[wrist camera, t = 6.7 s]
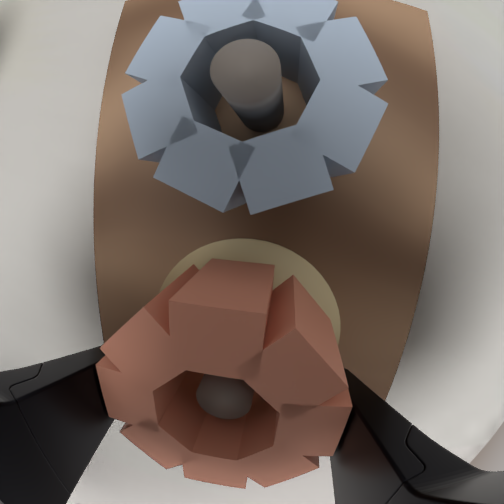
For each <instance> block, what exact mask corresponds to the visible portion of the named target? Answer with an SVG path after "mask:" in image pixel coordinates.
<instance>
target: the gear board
mask: <svg viewBox="0 0 504 504" xmlns="http://www.w3.org/2000/svg"><path fill="white" fill-rule="evenodd" d="M178 1H181V0H128V1H125V4H124V7H123V10H122V13H121V17H120V20H119V24H118V27H117V31H116V35H115V39H114V43H113V47H112V51H111V56H110V60H109V65H108V70H107V75H106V80H105V86H104V92H103V98H102V104H101V111H100V119H99V127H98V137H97V147H96V160H95V177H94V252H95V270H96V282H97V293H98V303H99V311H100V319H101V326H102V333H103V340H104V343H105V342H106V341H107V340H108V339H109V338H111V337H112V336H113V335H114V334H115V333H116V332H117V331H118V330H119V329H120V328H121V327H122V326H123V325H124V324H125V323H127V322H128V321H129V320H130V319H131V318H132V317H133V316H134V315H135V314H136V313H137V312H138V311H140V310H141V309H142V308H143V307H144V306H145V305H146V304H147V303H149V302H150V301H151V300H152V299H153V298H154V297H155V296H157V295H158V294H159V293H160V292H161V291H162V290H164V289H165V288H166V287H167V286H168V285H169V284H171V283H172V282H173V281H174V280H175V279H176V278H178V277H179V276H180V275H181V274H182V273H184V272H185V271H186V270H187V269H188V268H189V267H191V266H192V265H193V264H194V265H195V266H196V267H197V268H198V269H199V270H200V269H201V268H202V267H203V266H204V265H206V264H207V263H208V262H209V261H210V260H211V259H212V258H214V259H223V260H233V261H242V262H252V263H262V264H271V265H275V269H274V279H273V289H272V290H274V289H275V288H276V287H278V286H279V285H280V284H282V283H283V282H284V281H285V280H287V279H288V278H289V277H291V276H292V275H294V276H295V277H296V278H297V280H298V281H299V282H300V283H301V284H302V286H303V287H304V288H305V289H306V290H307V292H308V293H309V294H310V295H311V296H312V298H313V299H314V300H315V301H316V302H317V304H318V305H319V306H320V307H321V309H322V310H323V311H324V312H325V313H326V315H327V316H328V317H329V318H330V320H331V323H332V327H333V330H334V334H335V337H336V341H337V345H338V348H339V352H340V356H341V359H342V363H343V367H344V368H346V369H348V370H349V371H350V372H351V373H353V374H354V375H355V376H356V377H357V378H358V379H360V380H361V381H362V382H363V383H364V384H365V385H367V386H368V387H369V388H370V389H371V390H372V391H374V392H375V393H376V394H377V395H378V396H379V397H381V398H382V399H383V400H384V401H385V400H386V397H387V395H388V392H389V390H390V387H391V384H392V382H393V379H394V376H395V374H396V371H397V368H398V365H399V362H400V359H401V356H402V353H403V350H404V347H405V344H406V341H407V338H408V334H409V331H410V327H411V324H412V320H413V317H414V313H415V309H416V305H417V301H418V297H419V293H420V289H421V285H422V280H423V275H424V271H425V266H426V260H427V255H428V249H429V243H430V237H431V231H432V224H433V216H434V208H435V198H436V187H437V174H438V154H439V106H438V87H437V75H436V64H435V56H434V48H433V41H432V35H431V29H430V23H429V18H428V13H427V11H425V10H422V9H419V8H416V7H413V6H410V5H407V4H403V3H400V2H396V1H393V0H336V1H338V5H337V9H336V13H335V17H334V20H335V19H342V18H349V17H357V19H358V20H359V22H360V24H361V26H362V28H363V30H364V31H365V33H366V35H367V37H368V39H369V41H370V43H371V45H372V47H373V49H374V51H375V53H376V55H377V57H378V59H379V61H380V63H381V65H382V68H383V70H384V72H385V74H386V77H387V79H388V81H387V82H386V83H385V84H384V85H383V86H382V87H381V88H380V89H379V90H378V91H377V92H376V93H375V94H374V95H375V96H377V97H379V98H380V99H382V100H383V101H385V102H387V103H388V105H387V108H386V110H385V112H384V114H383V116H382V118H381V120H380V123H379V125H378V127H377V129H376V131H375V133H374V135H373V137H372V139H371V141H370V143H369V145H368V147H367V149H366V151H365V153H364V155H363V157H362V159H361V161H360V163H359V165H358V167H357V169H356V171H355V173H351V174H346V175H341V176H336V177H330V179H331V182H332V186H333V189H334V190H332V191H328V192H325V193H321V194H318V195H315V196H311V197H308V198H304V199H301V200H298V201H294V202H291V203H288V204H285V205H281V206H278V207H275V208H272V209H268V210H265V211H262V212H259V213H256V214H252V215H250V212H249V209H248V205H247V202H246V203H245V204H243V205H241V206H238V207H236V208H233V209H231V210H229V211H226V212H224V213H223V212H221V211H219V210H217V209H215V208H213V207H211V206H209V205H207V204H205V203H203V202H201V201H199V200H197V199H195V198H193V197H191V196H189V195H187V194H185V193H183V192H181V191H179V190H177V189H175V188H173V187H171V186H169V185H167V184H165V183H163V182H161V181H159V180H157V179H155V178H153V176H154V174H155V172H156V170H157V167H158V165H159V162H153V161H145V160H138V156H137V153H136V149H135V146H134V142H133V138H132V135H131V131H130V127H129V123H128V119H127V115H126V111H125V107H124V103H123V99H122V95H121V94H123V93H125V92H127V91H129V90H130V89H132V88H134V87H136V86H138V85H140V84H142V83H140V82H139V81H137V80H135V79H134V78H132V77H130V76H129V75H127V74H125V72H126V71H127V69H128V67H129V65H130V63H131V62H132V60H133V58H134V56H135V55H136V53H137V51H138V50H139V48H140V46H141V45H142V43H143V41H144V40H145V38H146V37H147V35H148V33H149V32H150V30H151V29H152V27H153V26H154V24H155V23H156V21H157V20H158V18H159V17H160V16H166V17H171V18H176V19H181V20H184V17H183V14H182V11H181V8H180V5H179V3H178ZM210 76H211V79H212V82H213V83H214V85H215V86H216V88H217V89H218V90H219V92H220V93H221V94H222V98H221V99H220V101H219V103H218V105H217V107H216V109H215V112H216V115H217V118H218V121H219V124H220V127H221V130H222V133H224V134H226V135H228V136H231V137H233V138H235V139H237V140H239V141H242V142H243V141H246V140H249V139H252V138H255V137H258V136H261V135H264V134H267V133H270V132H274V131H277V130H280V129H283V128H287V127H290V126H294V125H297V123H298V121H299V119H300V117H301V115H302V113H303V111H304V109H305V108H306V103H305V101H304V98H303V96H302V93H301V91H300V88H299V86H298V83H296V82H294V81H291V80H289V79H287V78H285V77H282V76H281V64H280V59H279V57H278V55H277V53H276V52H275V50H274V49H273V48H272V47H271V46H269V45H268V44H266V43H264V42H262V41H259V40H255V39H240V40H236V41H233V42H230V43H228V44H226V45H225V46H223V47H222V48H221V49H220V50H219V51H218V52H217V53H216V54H215V56H214V57H213V59H212V62H211V66H210ZM253 394H254V389H252V388H251V387H250V386H249V385H248V384H247V383H246V382H245V381H244V380H242V379H235V378H228V377H222V376H215V375H209V374H204V376H203V378H202V380H201V382H200V384H199V387H198V389H197V392H196V398H197V401H198V403H199V405H200V406H201V407H202V409H203V410H205V411H206V412H207V413H209V414H210V415H212V416H215V417H218V418H221V419H237V418H240V417H242V416H244V415H245V414H247V413H248V412H249V410H250V408H251V405H252V400H253Z"/></svg>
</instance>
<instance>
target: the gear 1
mask: <svg viewBox="0 0 504 504" xmlns="http://www.w3.org/2000/svg"><path fill="white" fill-rule="evenodd" d="M178 3H179V5H180V8H181V11H182V14H183V17H184V20H181V19H176V18H171V17H166V16H160V17H159V18H158V20H157V21H156V23H155V24H154V26H153V27H152V29H151V30H150V32H149V33H148V35H147V37H146V38H145V40H144V41H143V43H142V45H141V46H140V48H139V50H138V51H137V53H136V55H135V56H134V58H133V60H132V62H131V63H130V65H129V67H128V69H127V71H126V72H125V74H127V75H129V76H130V77H132V78H134V79H135V80H137V81H139V82H140V83H142V84H140V85H138V86H136V87H134V88H132V89H130V90H129V91H127V92H125V93H123V94H121V95H122V99H123V103H124V107H125V111H126V115H127V119H128V123H129V127H130V131H131V135H132V138H133V142H134V146H135V149H136V153H137V156H138V160H145V161H153V162H159V165H158V167H157V170H156V172H155V174H154V176H153V178H155V179H157V180H159V181H161V182H163V183H165V184H167V185H169V186H171V187H173V188H175V189H177V190H179V191H181V192H183V193H185V194H187V195H189V196H191V197H193V198H195V199H197V200H199V201H201V202H203V203H205V204H207V205H209V206H211V207H213V208H215V209H217V210H219V211H221V212H223V213H224V212H226V211H229V210H231V209H233V208H236V207H238V206H241V205H243V204H245V203H246V202H247V205H248V209H249V212H250V215H252V214H256V213H259V212H262V211H265V210H268V209H272V208H275V207H278V206H281V205H285V204H288V203H291V202H294V201H298V200H301V199H304V198H308V197H311V196H315V195H318V194H321V193H325V192H328V191H332V190H334V189H333V186H332V182H331V179H330V177H336V176H341V175H346V174H351V173H355V171H356V169H357V167H358V165H359V163H360V161H361V159H362V157H363V155H364V153H365V151H366V149H367V147H368V145H369V143H370V141H371V139H372V137H373V135H374V133H375V131H376V129H377V127H378V125H379V123H380V120H381V118H382V116H383V114H384V112H385V110H386V108H387V105H388V103H387V102H385V101H383V100H382V99H380V98H379V97H377V96H375V95H374V94H375V93H376V92H377V91H378V90H379V89H380V88H381V87H382V86H383V85H384V84H385V83H386V82H387V81H388V79H387V77H386V74H385V72H384V70H383V68H382V65H381V63H380V61H379V59H378V57H377V55H376V53H375V51H374V49H373V47H372V45H371V43H370V41H369V39H368V37H367V35H366V33H365V31H364V30H363V28H362V26H361V24H360V22H359V20H358V19H357V17H349V18H342V19H335V20H334V17H335V13H336V9H337V5H338V1H336V0H181V1H178ZM240 39H255V40H259V41H262V42H264V43H266V44H268V45H269V46H271V47H272V48H273V49H274V50H275V52H276V53H277V55H278V57H279V59H280V64H281V76H282V77H285V78H287V79H289V80H291V81H294V82H296V83H298V86H299V88H300V91H301V93H302V96H303V98H304V101H305V103H306V108H305V109H304V111H303V113H302V115H301V117H300V119H299V121H298V123H297V125H294V126H290V127H287V128H283V129H280V130H277V131H274V132H270V133H267V134H264V135H261V136H258V137H255V138H252V139H249V140H246V141H243V142H242V141H239V140H237V139H235V138H233V137H231V136H228V135H226V134H224V133H222V130H221V127H220V124H219V121H218V118H217V115H216V112H215V109H216V107H217V105H218V103H219V101H220V99H221V98H222V94H221V93H220V92H219V90H218V89H217V88H216V86H215V85H214V83H213V82H212V79H211V76H210V66H211V62H212V59H213V57H214V56H215V54H216V53H217V52H218V51H219V50H220V49H221V48H222V47H223V46H225V45H226V44H228V43H230V42H233V41H236V40H240Z"/></svg>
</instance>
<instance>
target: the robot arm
mask: <svg viewBox="0 0 504 504" xmlns="http://www.w3.org/2000/svg"><path fill="white" fill-rule="evenodd" d="M100 347H101V346H99V347H96V348H92V349H89V350H85V351H82V352H79V353H75V354H72V355H68V356H65V357H61V358H58V359H54V360H50V361H47V362H44V363H39V364H36V365H32V366H28V367H23V368H19V369H14V370H8V371H3V372H0V504H66V503H67V501H68V499H69V497H70V496H71V495H70V494H71V493H72V492H73V490H74V488H75V486H76V484H77V483H78V481H79V479H80V477H81V476H82V474H83V472H84V470H85V469H86V467H87V465H88V463H89V462H90V460H91V458H92V457H93V455H94V453H95V451H96V450H97V448H98V446H99V445H100V443H101V441H102V439H103V438H104V436H105V434H106V433H107V431H108V429H109V428H110V426H111V424H112V423H113V421H114V418H111V417H109V415H108V412H107V408H106V405H105V401H104V398H103V394H102V390H101V386H100V382H99V378H98V373H97V369H96V364H97V363H98V362H99V361H100V360H101V359H102V358H103V357H104V356H105V354H104V353H103V352H102V351H101V349H100ZM344 371H345V375H346V379H347V383H348V386H349V388H348V390H349V394H350V398H351V402H352V409H351V412H350V415H349V417H348V420H347V423H346V425H345V428H344V430H343V433H342V435H341V438H340V440H339V443H338V445H337V448H336V450H335V452H334V455H333V456H330V461H331V469H332V478H333V487H334V497H335V504H504V471H498V472H490V471H484V470H480V469H478V468H476V467H474V466H472V465H470V464H469V463H467V462H466V461H464V460H462V459H461V458H459V457H457V456H456V455H454V454H453V453H451V452H450V451H448V450H446V449H445V448H443V447H442V446H440V445H439V444H438V443H436V442H435V441H433V440H432V439H430V438H429V437H428V436H427V435H425V434H424V433H423V432H421V431H420V430H419V429H418V428H417V427H415V426H414V425H412V423H410V422H409V421H408V420H407V419H406V418H404V417H403V416H402V415H401V414H400V413H398V412H397V411H396V410H395V409H394V408H392V407H391V406H390V405H389V404H388V403H387V402H385V401H384V400H383V399H382V398H381V397H379V396H378V395H377V394H376V393H375V392H374V391H372V390H371V389H370V388H369V387H368V386H367V385H365V384H364V383H363V382H362V381H361V380H360V379H358V378H357V377H356V376H355V375H354V374H353V373H351V372H350V371H349V370H348V369H346V368H344ZM411 425H412V426H411Z"/></svg>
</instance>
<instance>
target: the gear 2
mask: <svg viewBox="0 0 504 504" xmlns="http://www.w3.org/2000/svg"><path fill="white" fill-rule="evenodd" d="M274 269H275V265H271V264H262V263H252V262H242V261H233V260H223V259H214V258H212V259H211V260H210V261H209V262H208V263H207V264H206V265H204V266H203V267H202V268H201V269H200V270H199V269H198V268H197V267H196V266H195V265H194V264H193V265H192V266H191V267H189V268H188V269H187V270H186V271H185V272H184V273H182V274H181V275H180V276H179V277H178V278H176V279H175V280H174V281H173V282H172V283H171V284H169V285H168V286H167V287H166V288H165V289H164V290H162V291H161V292H160V293H159V294H158V295H157V296H155V297H154V298H153V299H152V300H151V301H150V302H149V303H147V304H146V305H145V306H144V307H143V308H142V309H141V310H140V311H138V312H137V313H136V314H135V315H134V316H133V317H132V318H131V319H130V320H129V321H128V322H127V323H125V324H124V325H123V326H122V327H121V328H120V329H119V330H118V331H117V332H116V333H115V334H114V335H113V336H112V337H111V338H109V339H108V340H107V341H106V342H105V343H104V344H103V345H102V346H101V347H100V349H101V351H102V352H103V353H104V354H105V356H104V357H103V358H102V359H101V360H100V361H99V362H98V363H97V364H96V369H97V373H98V378H99V382H100V386H101V390H102V394H103V398H104V401H105V405H106V408H107V412H108V415H109V417H111V418H114V419H117V420H120V421H123V422H126V423H125V424H124V426H123V427H122V429H121V430H120V433H122V434H123V435H124V436H125V437H126V438H127V439H129V440H130V441H131V442H132V443H133V444H134V445H136V446H137V447H138V448H139V449H141V450H142V451H143V452H144V453H146V454H147V455H148V456H149V457H151V458H152V459H153V460H155V461H156V462H157V463H159V464H160V465H161V466H163V467H164V468H165V469H169V468H172V467H176V466H179V465H183V471H184V477H185V478H189V479H194V480H198V481H203V482H208V483H213V484H218V485H224V486H230V487H237V488H244V489H245V487H246V482H247V477H249V478H250V479H252V480H253V481H255V482H257V483H258V484H260V485H262V486H263V487H268V486H271V485H274V484H277V483H280V482H283V481H286V480H289V479H291V478H294V477H297V476H300V475H302V474H305V473H307V472H310V471H312V470H315V469H317V468H319V456H333V455H334V452H335V450H336V448H337V445H338V443H339V440H340V438H341V435H342V433H343V430H344V428H345V425H346V423H347V420H348V417H349V415H350V412H351V409H352V402H351V398H350V394H349V390H348V388H349V386H348V383H347V379H346V375H345V371H344V367H343V363H342V359H341V356H340V352H339V348H338V345H337V341H336V337H335V334H334V330H333V327H332V323H331V320H330V318H329V317H328V316H327V315H326V313H325V312H324V311H323V310H322V309H321V307H320V306H319V305H318V304H317V302H316V301H315V300H314V299H313V298H312V296H311V295H310V294H309V293H308V292H307V290H306V289H305V288H304V287H303V286H302V284H301V283H300V282H299V281H298V280H297V278H296V277H295V276H294V275H292V276H291V277H289V278H288V279H287V280H285V281H284V282H283V283H282V284H280V285H279V286H278V287H276V288H275V289H274V290H272V289H273V279H274ZM204 374H209V375H215V376H222V377H228V378H235V379H242V380H244V381H245V382H246V383H247V384H248V385H249V386H250V387H251V388H252V389H254V394H253V400H252V405H251V408H250V410H249V412H248V413H247V414H245V415H244V416H242V417H240V418H237V419H221V418H218V417H215V416H212V415H210V414H209V413H207V412H206V411H205V410H203V409H202V407H201V406H200V405H199V403H198V401H197V398H196V392H197V389H198V387H199V384H200V382H201V380H202V378H203V376H204Z"/></svg>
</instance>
